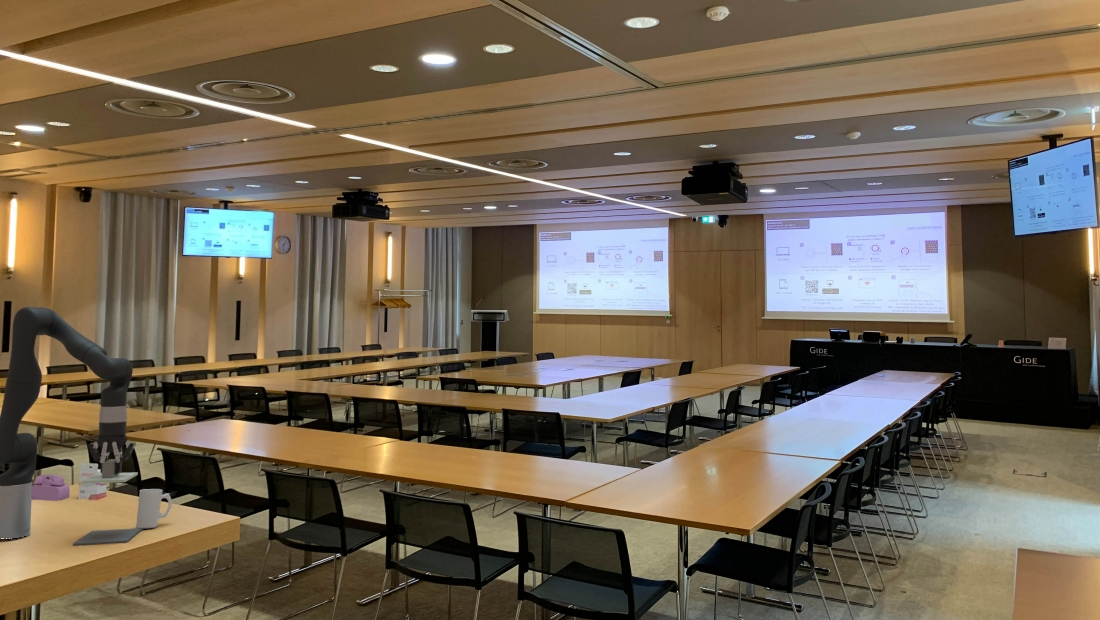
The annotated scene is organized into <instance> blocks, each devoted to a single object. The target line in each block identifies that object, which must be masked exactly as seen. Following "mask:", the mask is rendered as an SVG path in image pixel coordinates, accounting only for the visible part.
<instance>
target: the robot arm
mask: <svg viewBox="0 0 1100 620" xmlns="http://www.w3.org/2000/svg"><path fill="white" fill-rule="evenodd" d="M13 317H14V318H13V322H12V333H11V334H12V336H11V350H10V357H9V358H10V359H9V366H8V372H7V376H6V382H5V386H4V393H3V400H2V406H1V410H0V465H7V464H11V466H10V467H9V468H8V469H7V470H6V471H4V472H3V473H1V474H0V539H1V538H4V539H6V538H7V539H9V538H10V539H11V538H18V539H20V538H19V537H22V538H25V537H24V536H26V537H28V536H30V535H31V530H32V528H31V527H32V526H31V524H32V523H31V522H32V500H33V499H32V486H33V477H34V475H35V473H36V467H37V466H36V465H37V456H38V444H37V439H36V437H35V436H34V435H33V434H32V433H29V432H19V433H18V431H19V428H20V424H21V422H22V420H23V418H24V417H25V415H26V414H27V413H28V412H29V411H30V409H31V408H32V407H33V405H34V404H35V403H36V401H37V400H38V398H39V396H40V393H41V386H42V382H43V381H42V380H43V374H42V369H41V367H40V365H39V362H38V360H37V358H36V354H35V347H36V340H37V336H47V337H50V338H52V339H55V340H57V341H58V342H60V343H61V344H62V345H63V346H64V349H65V350H66V351H67V353H68V354H69V355H70V356H72V358H75V359H76V360H78V361H79V362H80V363H82V364H84V365H86V366H87V367H88V369H90V371H91V372H93V373H94V374H95V376H97V377H98V378H100V379H102V380H105V381H110V382H109V385H108V386H107V387H105V388H103V389H102V391H101V393H100V395H101V396H100V409H99V415H98V417H99V419H98V438H97V439H96V441H94V442H91V443H89V444H87V448H88V450H89V452H90V455H91V457H92V459H93V461H94V462H98V463H100V467H99V468H100V469H99V470H100V472H101V473H102V464H103V462H105V461H107V460H109V459H108V458H109V455H110V453H113V454H114V457H115V458H114V459H116V463H115V475H117V474H119V473H122V470H123V469H122V468H123V467H122V466H123V462H124V461H127V460H129V458H130V457H131V455H132V453H133V451H134V449H135V447H136V445H137V444H136V443H137V442H134V441H130V440H128V438H127V420H128V412H127V397H128V396H127V392H128V389H129V386H130V384H131V381H132V378H133V377H132V376H133V373H134V369H133V365H132V363H131V361H130V360H129V359H127V358H124V357H115V358H114V357H109V356H108V353H107V350H106V349H105V348H103V347H102V346H101V345H98V344H97V343H96V342H93V340H90V339H89V338H88V337H86V336H84V335H83V334H82V333H80V331H79V332H78V331H77V330H76V329H75V328H74V327H73V326H71V325H70V324H69V323H68V322H67V321H66V320H65V319H63V317H61V316H60V315H59V314H58V313H57V312H55V310H53V309H51V308H48V307H43V306H42V307H38V306H35V307H33V306H24V307H22V308H20V309H18V310H17V311H16V313H15V315H14V316H13ZM125 445H126V446H125ZM124 446H125V447H126V450H125V452H124V454H123V451H122V450H123V449H122V448H124ZM99 447H100V449H101V454H100V452H99V450H98V448H99ZM11 540H12V539H11Z"/></svg>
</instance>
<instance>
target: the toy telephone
mask: <svg viewBox="0 0 1100 620" xmlns="http://www.w3.org/2000/svg"><path fill="white" fill-rule="evenodd" d="M32 484H33V485H32V500H38V501H51V500H52V501H53V502H54V501H56V502H58V500H59V501H63V500H65V499H69V498H70V494H71V493H70V485H68V484H66V483H65V478H64V477H63V476H59V475H57V474H56V475H55V474H43V475H42V474H41V475H37V476H36V478H35V480H34V481H32Z"/></svg>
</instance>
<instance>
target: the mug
mask: <svg viewBox="0 0 1100 620" xmlns="http://www.w3.org/2000/svg"><path fill="white" fill-rule="evenodd" d="M170 494H171V493H164V494H163V489H160V488H150V489H149V488H148V489H146V488H145V489H140V490H139V496H138V505H137V514H136V526H135V528H143V529H151V528H152V529H153V528H157V527H158V524H159V520H160V519H163V518H166V517H167V516H168V515H169V512H170V510H171V509H172V506H173V502H172V498H171V495H170ZM162 499H166V500H167V502H168V503H167V505H168V506H167V508H166V510H165V511H164V512H163V513H162V512H161V513H160V509H161V503H162Z"/></svg>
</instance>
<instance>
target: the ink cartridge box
mask: <svg viewBox="0 0 1100 620" xmlns="http://www.w3.org/2000/svg"><path fill="white" fill-rule="evenodd" d="M98 467H99V464H98V463H91V462H90V463H89V462H88V463H86V462H85V463H84V462H82V463H80V467H79V471H78V473H79V474H78V476H79V477H78V500H81V499H88V500H89V501H99V500H102V499H104V498H107V483H82V481H83V480H85V479H87V478H89V477H91V476H93V475H95V474H100V473H101V472H100V469H99V468H98ZM101 498H102V499H101Z"/></svg>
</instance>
